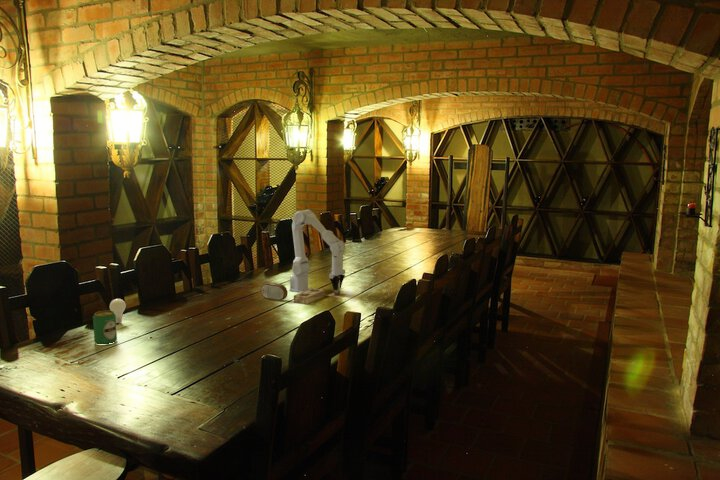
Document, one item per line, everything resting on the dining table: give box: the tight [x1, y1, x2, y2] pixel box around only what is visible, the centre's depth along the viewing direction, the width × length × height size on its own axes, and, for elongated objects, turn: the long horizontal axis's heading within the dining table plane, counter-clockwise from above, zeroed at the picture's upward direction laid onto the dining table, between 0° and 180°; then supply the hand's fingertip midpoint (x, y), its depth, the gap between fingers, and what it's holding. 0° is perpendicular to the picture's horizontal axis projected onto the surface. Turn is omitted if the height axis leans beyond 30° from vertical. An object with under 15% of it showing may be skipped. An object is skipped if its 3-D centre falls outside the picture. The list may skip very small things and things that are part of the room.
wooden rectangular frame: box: [293, 287, 326, 305], centre depth 281 cm, size 8×18×4 cm, turn 154°
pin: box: [333, 276, 341, 295], centre depth 289 cm, size 3×3×10 cm
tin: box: [260, 281, 288, 301], centre depth 280 cm, size 15×3×8 cm, turn 65°
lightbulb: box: [109, 298, 127, 324], centre depth 237 cm, size 6×6×11 cm
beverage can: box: [92, 309, 118, 344], centre depth 214 cm, size 8×8×12 cm
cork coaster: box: [326, 292, 348, 299], centre depth 289 cm, size 8×8×1 cm
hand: (337, 289), depth 289 cm, fingers closed on pin, 3 cm apart
